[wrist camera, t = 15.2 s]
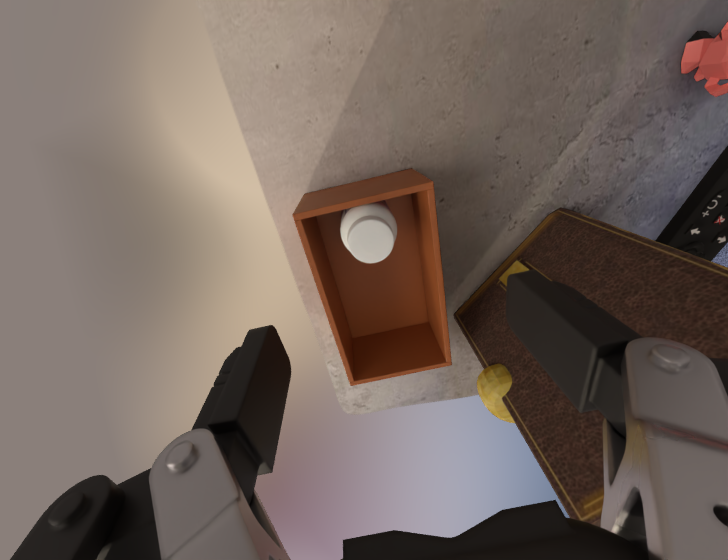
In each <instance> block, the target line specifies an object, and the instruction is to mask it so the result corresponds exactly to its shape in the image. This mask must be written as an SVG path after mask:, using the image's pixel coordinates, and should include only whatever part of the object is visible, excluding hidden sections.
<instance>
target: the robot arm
mask: <svg viewBox="0 0 728 560" xmlns="http://www.w3.org/2000/svg"><path fill="white" fill-rule="evenodd" d="M506 318H507V322H508V324H509V327H510V328H511V330H512V331H513V332H514V334H515V335H516V336H517V337H518V338H519V340H520V341H521V342H522V343H523V345H524V346H525V347H526V348H527V349H528V351H529V352H530V353H531V354H532V355H533V357H534V358H535V359H536V360H537V361H538V363H539V364H540V365H541V366H542V368H543V369H544V370H545V371H546V372H547V374H548V375H549V376H550V377H551V378H552V380H553V381H554V382H555V383H556V384H557V386H558V387H559V388H560V389H561V390H562V392H563V393H564V394H565V395H566V397H567V398H568V399H569V400H570V401H571V403H572V404H573V405H574V406H575V407H576V409H577V410H578V411H579V412H580V413H583V412H588V411H593V410H599V411H600V412H601V413H602V415H603V416H604V421H603V459H604V502H603V509H602V515H601V527H599V526H596V525H593V524H590V523H588V522H584V521H580V520H576V519H572V518H565V516H564V514H563V512H562V511H561V509H560V507H559V505H558V504H557V502H556V500H553V501H548V502H542V503H537V504H532V505H526V506H521V507H516V508H510V509H505V510H502V511H500V512H498V513H496V514H495V515H493V516H491V517H489V518H488V519H486V520H484V521H483V522H481V523H479V524H477V525H476V526H474V527H472V528H470V529H469V530H467V531H465V532H464V533H462V534H460V535H458V536H456V537H452V538H444V537H438V536H431V535H423V534H417V533H410V532H403V531H395V530H393V531H388V532H383V533H378V534H372V535H367V536H361V537H356V538H351V539H346V540H343V559H341V560H728V359H727V358H707V357H706V356H705V355H704V354H702V353H701V352H699V351H697V350H695V349H694V348H691V347H689V346H687V345H685V344H682V343H679V342H676V341H672V340H668V339H663V338H652V337H647V338H644V337H642V336H641V335H639V334H638V333H637V332H635V331H634V330H632V329H631V328H630V327H628V326H627V325H625V324H624V323H623V322H621V321H620V320H618V319H617V318H615V317H614V316H613V315H611V314H610V313H608V312H607V311H606V310H604V309H603V308H601V307H598V306H597V304H596V303H594V302H593V301H591V300H590V299H586V296H584V295H583V294H582V293H580V292H579V291H577V290H576V289H575V288H573V287H571V286H568V285H566V284H563V283H560V282H558V281H555V280H554V281H550V280H549V279H547V278H546V277H545V276H543V275H542V274H541V273H539V272H538V271H537V270H534V269H532V270H528V271H523V272H518V273H514V274H510V275H509V276H508V278H507V288H506ZM290 378H291V365H290V360H289V357H288V355H287V353H286V351H285V348H284V346H283V344H282V342H281V340H280V337H279V335H278V333H277V331H276V329H275V327H274V326H273V325H269V326H265V327H260V328H256V329H251V330H249V331H248V333H247V335H246V337H245V340H244V342H243V345H242V346H241V347H238V348H236V349H235V350H234V351H233V352H232V353H231V354H230V356H228V357H227V359H226V360H225V361H224V363H223V366H222V368H221V370H220V372H219V376H217V378H216V380H215V382H214V387H212V388H211V390H210V393H209V395H208V397H207V399H206V401H205V403H204V405H203V407H202V409H201V411H200V413H199V416H198V417H197V420H196V422H195V424H194V426H193V428H192V430H191V431H188V432H186V433H184V434H182V435H181V436H179V437H177V438H176V439H175V440H173V441H172V442H171V443H170V444H169V445H168V446H167V447H166V448H165V449H164V450H163V451H162V452H161V453H160V454H159V456H158V457H157V459H156V460H155V462H154V464H153V466H152V468H150V469H148V470H146V471H144V472H142V473H140V474H138V475H136V476H134V477H132V478H130V479H128V480H126V481H124V482H122V483H120V484H118V485H116V484H115V483H114V482H113V481H112V480H110V479H109V478H108V477H107V476H104V475H97V476H93V477H90V478H88V479H85V480H83V481H81V482H79V483H78V484H76V485H75V486H73V487H71V488H70V489H69V490H67V491H66V492H65V493H64V494H62V495H61V496H60V497H59V498H58V499H57V500H56V501H55V502H54V503H53V504H52V505H50V507H49V508H48V509H47V510H46V511H45V512H44V513H43V515H42V516H41V517H40V519H39V520H38V521H37V523H36V524H35V526H34V527H33V529H32V530H31V531H30V532H29V534H28V535H27V537H26V538H25V539H24V541H23V542H22V544H21V545H20V546H19V548H18V549H17V551H16V552H15V553H14V555H13V556H12V558H11V559H10V560H290V558H289V556H288V555H287V553H286V551H285V549H284V547H283V545H282V543H281V541H280V539H279V537H278V535H277V533H276V531H275V529H274V527H273V525H272V523H271V521H270V519H269V517H268V515H267V513H266V511H265V509H264V507H263V505H262V503H261V501H260V499H259V497H258V495H257V493H256V491H255V490H254V487H255V483H256V478H257V475H262V474H267V473H272V471H273V465H274V460H275V455H276V450H277V445H278V440H279V435H280V429H281V424H282V419H283V414H284V409H285V404H286V398H287V393H288V388H289V383H290Z"/></svg>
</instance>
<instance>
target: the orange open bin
mask: <svg viewBox="0 0 728 560" xmlns="http://www.w3.org/2000/svg"><path fill="white" fill-rule="evenodd" d="M382 200H385V201H386V203H387V205H388V207H389V209H390V210H391V212H392V214H393V216H394V218H395V220H396V224H397V236H396V240H395V242H394V246H393V249H392V251H391V253H390V254H389V255H388V256H387V257H386V258H385V259H383V260H382V261H379V262H376V263H365V262H362V261H359V260H358V259H356V258H355V257H354V256H353V255H352V253H351V252H350V251H349V250H348V249H347V248H346V246H345V245H344V243H343V241H342V238H341V233H340V227H341V213H342V210H344V209H348V208H352V207H356V206H361V205H365V204H369V203H373V202H378V201H382ZM293 218H294V221H295V224H296V227H297V230H298V233H299V236H300V239H301V242H302V245H303V247H304V250H305V253H306V256H307V259H308V262H309V265H310V268H311V271H312V274H313V277H314V280H315V283H316V286H317V289H318V291H319V294H320V297H321V300H322V303H323V306H324V309H325V312H326V315H327V318H328V321H329V324H330V327H331V330H332V333H333V335H334V338H335V341H336V344H337V347H338V350H339V353H340V356H341V359H342V362H343V365H344V368H345V371H346V374H347V377H348V380H349V382H350V385H351V386H353V385H357V384H362V383H367V382H372V381H377V380H382V379H387V378H391V377H396V376H401V375H406V374H411V373H416V372H421V371H425V370H430V369H435V368H440V367H445V366H450V365H452V362H451V352H450V342H449V332H448V322H447V312H446V302H445V293H444V283H443V273H442V263H441V253H440V243H439V233H438V223H437V213H436V203H435V193H434V184H433V181H432V180H430V179H428V178H427V177H425V176H423V175H422V174H420V173H419V172H417V171H415V170H414V169H412V168H411V169H407V170H403V171H399V172H394V173H390V174H386V175H382V176H378V177H373V178H369V179H365V180H361V181H357V182H353V183H348V184H344V185H340V186H336V187H332V188H327V189H323V190H319V191H315V192H311V193H307V194H304V196H303V197H302V199H301V201H300V203H299V204H298V206H297V208H296V209H295V211H294V213H293Z"/></svg>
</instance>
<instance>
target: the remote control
mask: <svg viewBox="0 0 728 560" xmlns="http://www.w3.org/2000/svg"><path fill="white" fill-rule="evenodd" d="M656 242H659V243H662V244H664V245H667V246H670V247H673V248H675V249H678V250H681V251H683V252H686V253H689V254H692V255H694V256H697V257H700V258H703V259H705V260H708V261H712V259H713V258H714V257H715V256H716V255H717V254H718V253H719V251H720V250H721V249H722V248H723V247H724V246H725V245H726V244H727V242H728V146H727V147H726V149H725V150H724V151H723V153H722V154H721V155H720V157H719V158H718V159H717V161H716V162H715V163H714V164H713V166H712V167H711V168H710V170H709V171H708V172H707V174H706V175H705V176H704V178H703V179H702V180H701V182H700V183H699V184H698V186H697V187H696V188H695V190H694V191H693V192H692V194H691V195H690V196H689V197H688V199H687V200H686V201H685V203H684V204H683V205H682V207H681V208H680V209H679V211H678V212H677V213H676V215H675V216H674V217H673V219H672V220H671V221H670V223H669V224H668V225H667V226H666V228H665V229H664V230H663V232H662V233H661V234H660V236H659V237H658V238H657V240H656Z"/></svg>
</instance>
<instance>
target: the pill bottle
mask: <svg viewBox="0 0 728 560" xmlns="http://www.w3.org/2000/svg"><path fill="white" fill-rule="evenodd" d="M340 233H341V238H342V241H343V243H344V245H345V246H346V248H347V249H348V250H349V251H350V252H351V253H352V255H353V256H354V257H355V258H356V259H358V260H359V261H362V262H365V263H376V262H379V261H382V260H383V259H385V258H386V257H387V256H388V255H389V254H390V253H391V251H392V249H393V246H394V242H395V240H396V236H397V224H396V220H395V218H394V216H393V214H392V212H391V210H390V209H389V207H388V205H387V203H386V201H385V200H382V201H378V202H373V203H369V204H365V205H361V206H356V207H352V208H348V209H344V210H342V213H341V227H340Z"/></svg>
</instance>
